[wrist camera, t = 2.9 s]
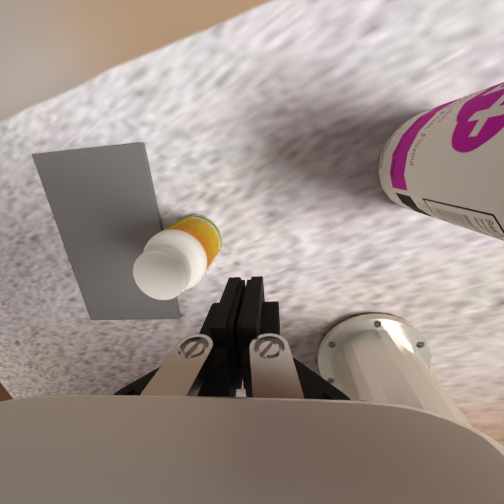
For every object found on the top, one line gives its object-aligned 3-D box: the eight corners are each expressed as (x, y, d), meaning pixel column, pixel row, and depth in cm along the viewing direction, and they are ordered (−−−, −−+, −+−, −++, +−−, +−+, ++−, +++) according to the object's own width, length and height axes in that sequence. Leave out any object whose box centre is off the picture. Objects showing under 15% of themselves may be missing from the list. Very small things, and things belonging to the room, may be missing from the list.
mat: (180, 316, 30) (179, 318, 30) (93, 317, 32) (91, 319, 31) (144, 143, 24) (141, 142, 23) (36, 154, 25) (31, 154, 25)
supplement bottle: (188, 204, 25) (138, 226, 16) (232, 231, 26) (207, 267, 17) (167, 245, 27) (112, 285, 18) (209, 269, 28) (175, 320, 19)
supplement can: (360, 147, 22) (508, 115, 8) (457, 89, 20) (896, -97, 6) (394, 223, 24) (561, 305, 10) (486, 177, 22) (867, 200, 8)
